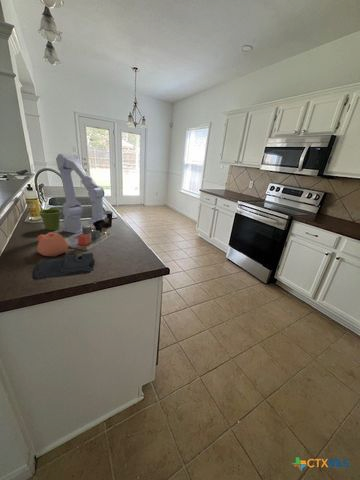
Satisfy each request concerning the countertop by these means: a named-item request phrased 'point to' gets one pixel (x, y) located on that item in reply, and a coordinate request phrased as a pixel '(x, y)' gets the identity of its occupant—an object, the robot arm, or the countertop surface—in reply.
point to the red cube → (84, 239)
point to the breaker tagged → (95, 234)
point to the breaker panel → (73, 240)
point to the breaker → (86, 229)
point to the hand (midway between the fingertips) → (99, 232)
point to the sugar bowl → (51, 244)
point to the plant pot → (50, 218)
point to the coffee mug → (108, 219)
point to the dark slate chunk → (64, 266)
